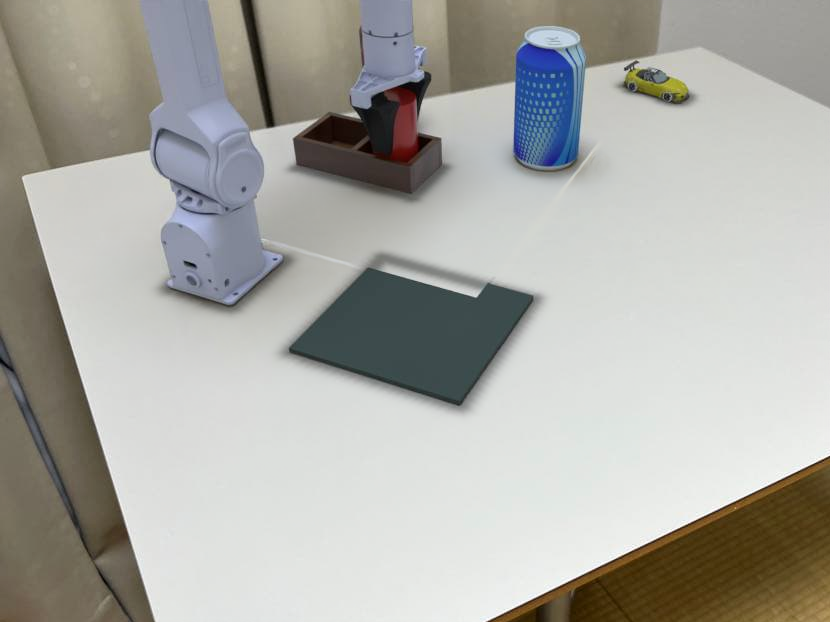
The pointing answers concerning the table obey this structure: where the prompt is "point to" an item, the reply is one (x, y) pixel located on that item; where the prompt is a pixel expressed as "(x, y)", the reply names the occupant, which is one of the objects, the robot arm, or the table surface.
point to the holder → (363, 154)
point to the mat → (413, 332)
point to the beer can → (548, 98)
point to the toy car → (655, 84)
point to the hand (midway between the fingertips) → (394, 142)
